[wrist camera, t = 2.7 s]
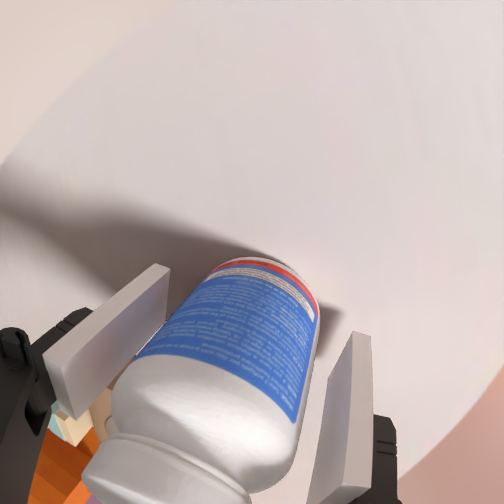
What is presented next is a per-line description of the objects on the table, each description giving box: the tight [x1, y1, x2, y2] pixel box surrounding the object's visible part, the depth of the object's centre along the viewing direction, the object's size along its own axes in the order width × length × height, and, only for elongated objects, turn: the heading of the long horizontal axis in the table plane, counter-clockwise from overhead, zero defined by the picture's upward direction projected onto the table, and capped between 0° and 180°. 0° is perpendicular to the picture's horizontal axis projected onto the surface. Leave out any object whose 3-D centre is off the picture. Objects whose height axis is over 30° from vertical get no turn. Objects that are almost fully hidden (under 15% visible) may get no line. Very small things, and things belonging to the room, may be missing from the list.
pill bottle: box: [81, 257, 320, 504], centre depth 9 cm, size 6×5×10 cm
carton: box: [48, 400, 93, 447], centre depth 20 cm, size 6×4×4 cm
